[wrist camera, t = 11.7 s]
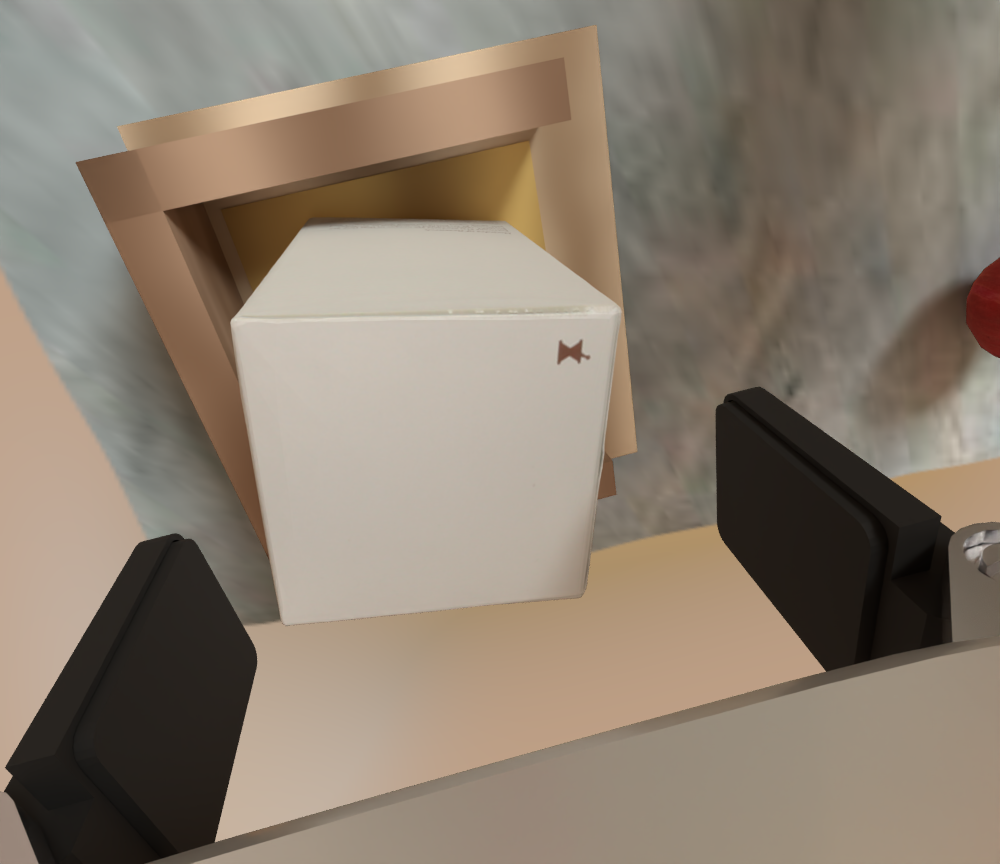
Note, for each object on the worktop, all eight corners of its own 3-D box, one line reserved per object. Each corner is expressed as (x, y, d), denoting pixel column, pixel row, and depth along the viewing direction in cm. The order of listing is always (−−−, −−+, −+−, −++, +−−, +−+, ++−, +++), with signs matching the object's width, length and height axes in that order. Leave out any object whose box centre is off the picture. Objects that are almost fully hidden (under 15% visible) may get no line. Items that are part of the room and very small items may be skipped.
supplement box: (303, 212, 21) (217, 301, 10) (510, 218, 22) (639, 302, 11) (321, 405, 24) (271, 635, 13) (501, 400, 26) (594, 606, 14)
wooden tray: (571, 37, 23) (642, 2, 17) (615, 424, 31) (674, 497, 25) (149, 127, 22) (57, 125, 15) (308, 504, 30) (289, 601, 23)
